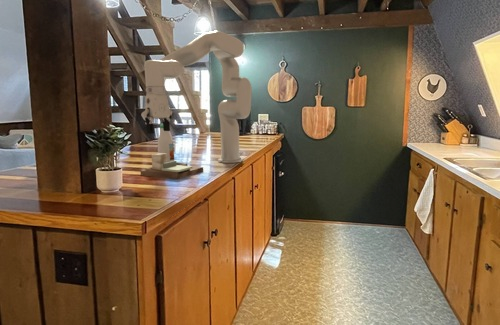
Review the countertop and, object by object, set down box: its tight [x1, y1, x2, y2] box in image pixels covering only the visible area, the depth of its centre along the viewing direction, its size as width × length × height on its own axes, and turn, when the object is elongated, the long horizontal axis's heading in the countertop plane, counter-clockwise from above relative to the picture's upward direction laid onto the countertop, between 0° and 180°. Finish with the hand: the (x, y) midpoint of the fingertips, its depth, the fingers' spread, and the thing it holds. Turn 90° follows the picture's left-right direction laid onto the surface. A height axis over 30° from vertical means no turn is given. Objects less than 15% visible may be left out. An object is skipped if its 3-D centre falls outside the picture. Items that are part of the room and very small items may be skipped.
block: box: [151, 152, 167, 170], centre depth 154 cm, size 4×4×7 cm
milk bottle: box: [157, 124, 175, 162], centre depth 177 cm, size 8×8×20 cm
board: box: [139, 162, 204, 180], centre depth 157 cm, size 18×20×3 cm
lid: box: [162, 160, 193, 172], centre depth 149 cm, size 9×9×3 cm
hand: (158, 132), depth 152 cm, fingers open, 9 cm apart
